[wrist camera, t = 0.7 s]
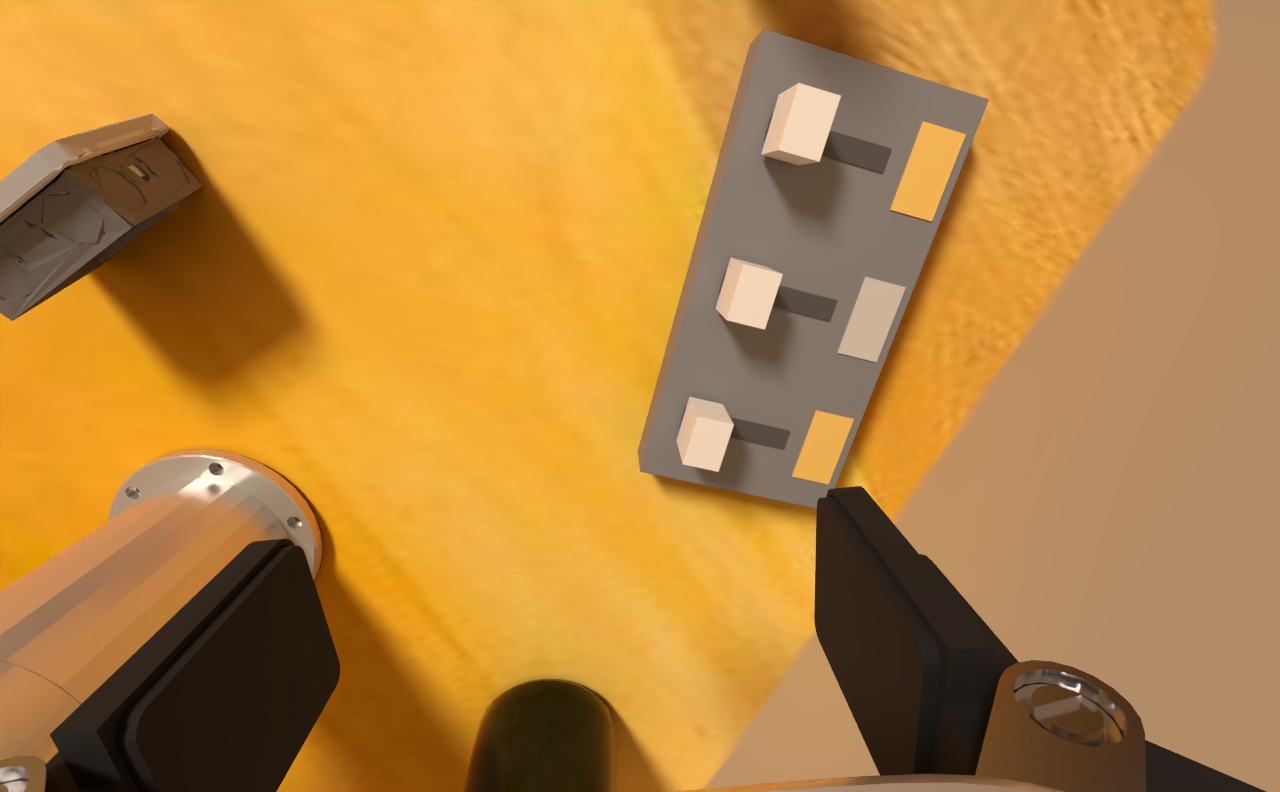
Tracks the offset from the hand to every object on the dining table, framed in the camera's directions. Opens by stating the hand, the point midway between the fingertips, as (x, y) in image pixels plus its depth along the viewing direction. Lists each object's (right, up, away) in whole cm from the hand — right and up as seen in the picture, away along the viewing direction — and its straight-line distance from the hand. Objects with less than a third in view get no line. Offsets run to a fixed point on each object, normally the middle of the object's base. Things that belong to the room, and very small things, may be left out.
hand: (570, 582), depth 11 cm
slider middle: (+7, +9, +21) cm, 24 cm away
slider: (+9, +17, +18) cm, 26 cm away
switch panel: (+10, +10, +25) cm, 28 cm away
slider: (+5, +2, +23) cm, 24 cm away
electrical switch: (-26, +14, +22) cm, 36 cm away
